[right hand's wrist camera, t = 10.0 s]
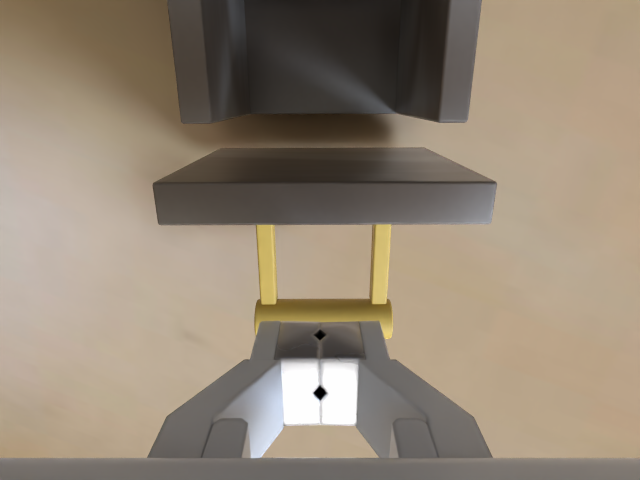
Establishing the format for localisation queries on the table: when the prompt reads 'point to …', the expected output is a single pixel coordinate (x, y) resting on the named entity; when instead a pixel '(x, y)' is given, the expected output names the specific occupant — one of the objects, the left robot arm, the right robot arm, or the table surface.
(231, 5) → the drawer
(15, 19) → the table surface
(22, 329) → the table surface
